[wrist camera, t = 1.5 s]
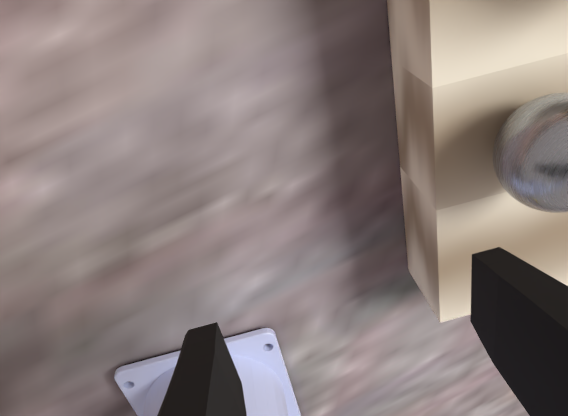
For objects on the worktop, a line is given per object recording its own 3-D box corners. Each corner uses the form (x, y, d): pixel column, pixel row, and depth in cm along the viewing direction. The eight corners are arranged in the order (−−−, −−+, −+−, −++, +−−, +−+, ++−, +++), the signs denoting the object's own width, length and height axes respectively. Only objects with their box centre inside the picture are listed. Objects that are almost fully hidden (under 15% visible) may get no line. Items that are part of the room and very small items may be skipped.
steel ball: (567, 163, 16) (648, 217, 13) (470, 189, 16) (531, 249, 13) (581, 65, 14) (680, 102, 11) (472, 93, 14) (543, 138, 11)
